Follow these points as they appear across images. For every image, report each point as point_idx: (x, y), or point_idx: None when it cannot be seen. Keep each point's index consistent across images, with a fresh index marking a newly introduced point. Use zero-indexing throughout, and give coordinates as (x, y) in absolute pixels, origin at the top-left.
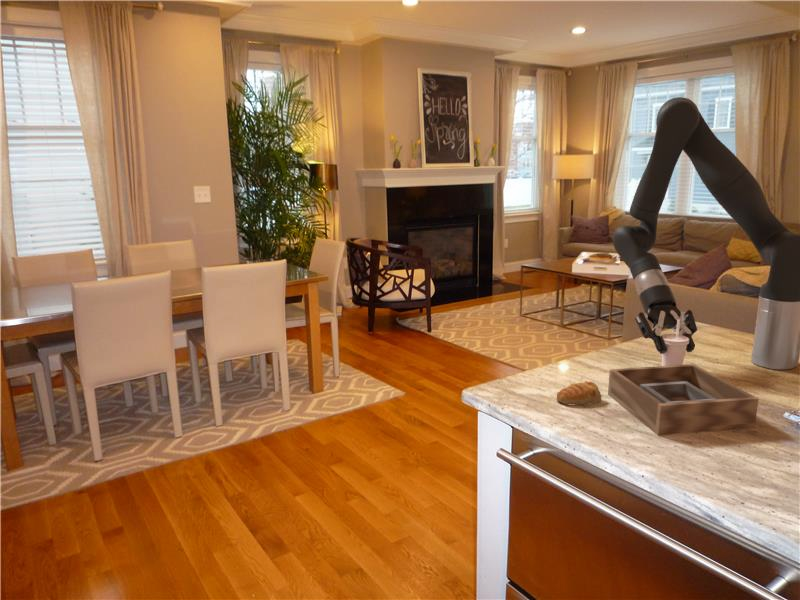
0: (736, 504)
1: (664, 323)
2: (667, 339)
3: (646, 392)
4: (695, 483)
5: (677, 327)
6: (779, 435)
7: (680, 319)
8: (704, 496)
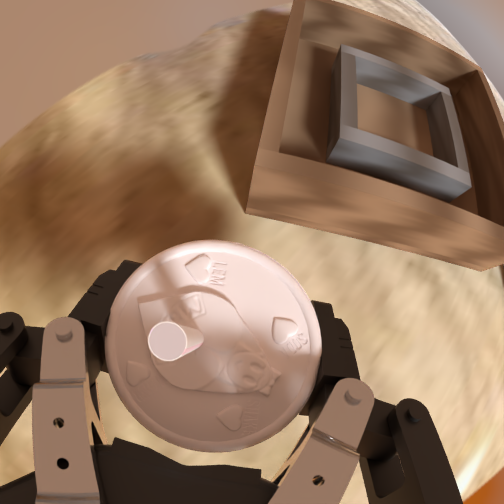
0: (424, 15)
1: (248, 484)
2: (297, 334)
3: (493, 106)
4: (446, 39)
5: (195, 336)
6: (268, 18)
7: (42, 437)
8: (445, 31)
